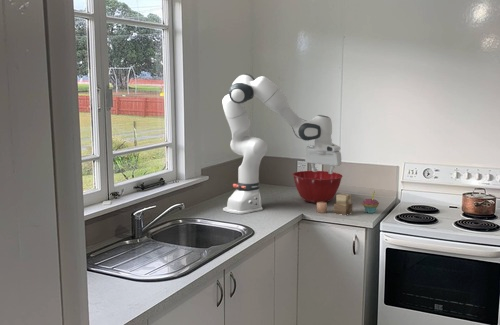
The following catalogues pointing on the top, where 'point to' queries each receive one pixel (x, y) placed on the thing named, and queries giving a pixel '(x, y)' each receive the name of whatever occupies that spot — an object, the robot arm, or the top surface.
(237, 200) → the robot arm
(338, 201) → the tower top
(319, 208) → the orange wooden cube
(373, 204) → the cupcake
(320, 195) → the mixing bowl
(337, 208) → the tower base
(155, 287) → the top surface
